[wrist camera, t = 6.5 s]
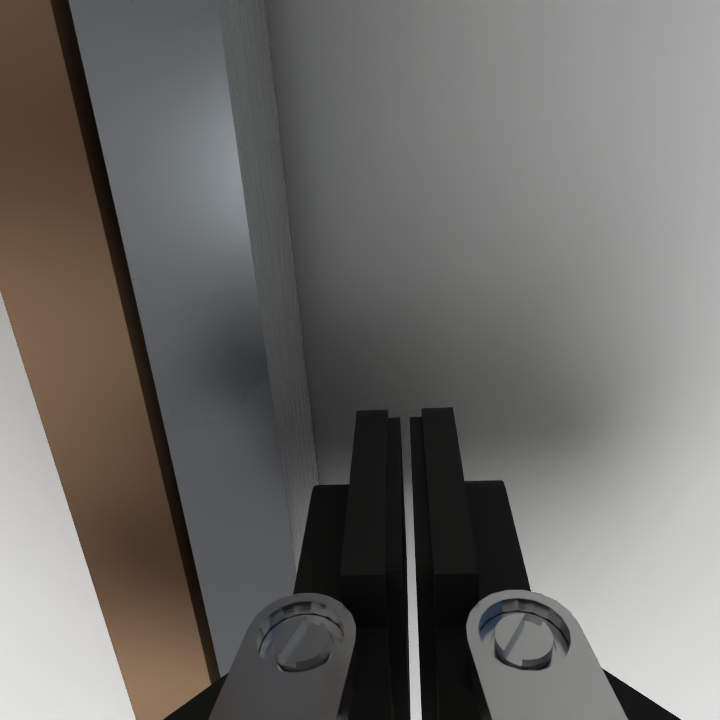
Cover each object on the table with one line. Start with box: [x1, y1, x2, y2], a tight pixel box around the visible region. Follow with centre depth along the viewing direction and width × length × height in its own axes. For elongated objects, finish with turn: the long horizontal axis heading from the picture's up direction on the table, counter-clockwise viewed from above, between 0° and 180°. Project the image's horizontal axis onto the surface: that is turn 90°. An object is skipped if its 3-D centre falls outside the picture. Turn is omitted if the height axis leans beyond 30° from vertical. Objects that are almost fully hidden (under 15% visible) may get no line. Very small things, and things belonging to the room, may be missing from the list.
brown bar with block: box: [0, 0, 221, 720], centre depth 11 cm, size 22×4×4 cm, turn 4°
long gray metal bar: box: [69, 0, 319, 677], centre depth 12 cm, size 18×2×3 cm, turn 4°
